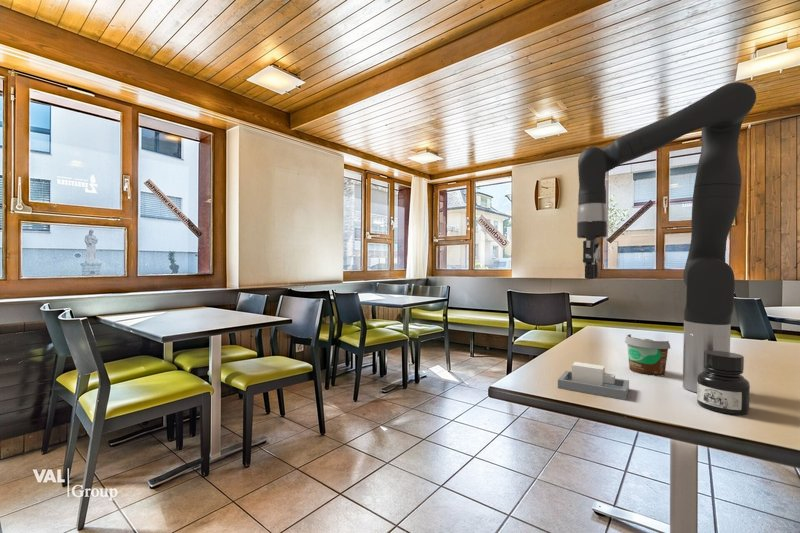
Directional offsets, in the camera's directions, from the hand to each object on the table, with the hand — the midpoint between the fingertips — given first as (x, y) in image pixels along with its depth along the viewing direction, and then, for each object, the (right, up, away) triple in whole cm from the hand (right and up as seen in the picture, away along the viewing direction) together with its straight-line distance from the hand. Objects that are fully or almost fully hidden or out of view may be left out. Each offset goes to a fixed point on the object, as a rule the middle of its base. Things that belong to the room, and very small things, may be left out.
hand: (591, 278), depth 110 cm
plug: (-5, -27, -11) cm, 30 cm away
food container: (+17, -28, +4) cm, 33 cm away
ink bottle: (+17, -28, -24) cm, 41 cm away
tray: (-5, -28, -11) cm, 30 cm away
